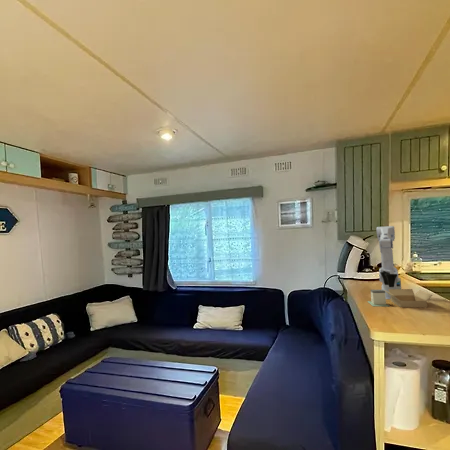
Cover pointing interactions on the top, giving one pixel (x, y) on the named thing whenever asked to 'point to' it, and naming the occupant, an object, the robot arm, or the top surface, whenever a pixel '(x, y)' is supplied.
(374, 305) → the pad
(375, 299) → the block
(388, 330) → the top surface
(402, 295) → the carton
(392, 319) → the top surface
